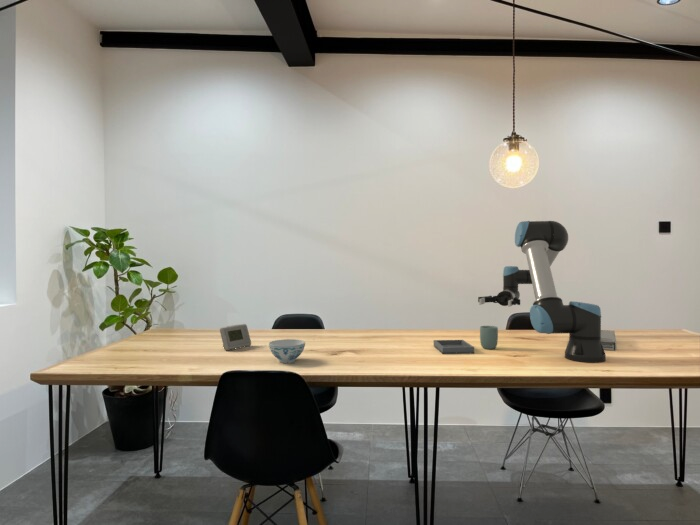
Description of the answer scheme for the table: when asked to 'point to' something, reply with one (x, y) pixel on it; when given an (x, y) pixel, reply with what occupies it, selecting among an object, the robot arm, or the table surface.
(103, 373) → the table surface
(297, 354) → the chinaware
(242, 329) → the digital clock
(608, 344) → the power supply unit
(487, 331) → the cup
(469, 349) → the tray
